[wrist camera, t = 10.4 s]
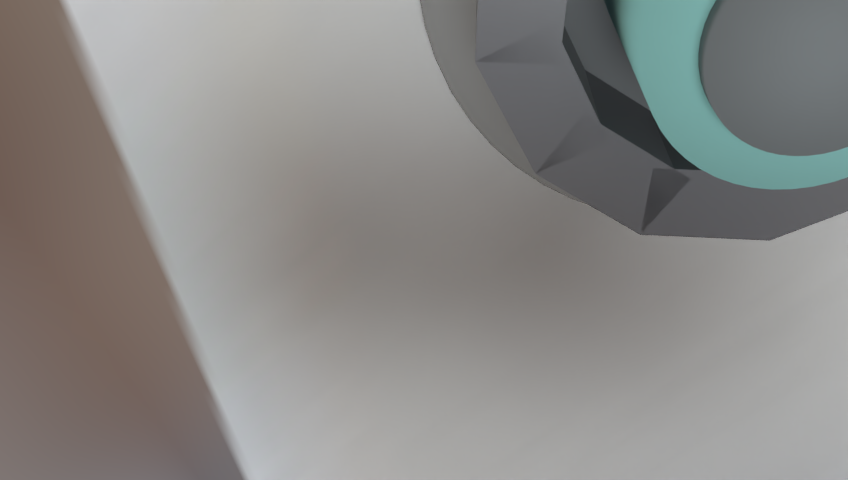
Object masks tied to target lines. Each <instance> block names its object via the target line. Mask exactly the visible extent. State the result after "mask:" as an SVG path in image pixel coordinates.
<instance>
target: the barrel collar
mask: <svg viewBox="0 0 848 480" xmlns="http://www.w3.org/2000/svg"><path fill="white" fill-rule="evenodd" d="M420 1H421V6H422V12H423V17H424V23H425V27H426V30H427V33H428V36H429V39H430V43H431V46H432V49H433V52H434V55H435V58H436V61H437V63H438V65H439V67H440V69H441V71H442V73H443V75H444V78H445V80H446V82H447V84H448V86H449V88H450V90H451V92H452V94H453V95H454V97H455V98H456V100H457V101H458V103H459V104H460V106H461V107H462V109H463V110H464V112H465V113H466V115H467V116H468V118H469V119H470V121H471V122H472V123H473V124H474V125H475V126H476V128H477V129H478V130H479V131H480V132H481V133H482V135H483V136H484V137H485V138H486V139H487V140H488V141H489V143H490V144H491V145H492V146H493V147H494V148H496V149H497V150H498V151H499V152H500V153H501V154H502V155H504V156H505V157H506V158H507V159H508V160H509V161H510V162H512V163H513V164H514V165H515V166H516V167H518V168H519V169H521V170H522V171H524V172H525V173H527V174H528V175H530V176H531V177H533V178H534V179H536V180H537V181H539V182H540V183H542V184H543V185H545V186H547V187H549V188H551V189H553V190H555V191H557V192H559V193H561V194H563V195H565V196H568V197H570V198H572V199H574V200H577V201H580V202H583V203H586V204H588V205H590V206H592V207H593V208H595V209H597V210H599V211H600V212H602V213H604V214H606V215H607V216H609V217H611V218H612V219H614V220H616V221H618V222H619V223H621V224H623V225H624V226H626V227H628V228H630V229H631V230H633V231H635V232H637V233H638V234H640V235H661V236H683V237H705V238H727V239H749V240H772V239H775V238H777V237H780V236H783V235H785V234H788V233H791V232H793V231H796V230H799V229H801V228H804V227H806V226H809V225H812V224H814V223H817V222H820V221H822V220H825V219H828V218H830V217H833V216H836V215H838V214H841V213H844V212H846V211H848V177H847V178H844V179H841V180H838V181H835V182H831V183H827V184H822V185H818V186H814V187H806V188H798V189H775V190H771V189H761V188H751V187H747V186H742V185H738V184H733V183H731V182H728V181H725V180H722V179H719V178H717V177H714V176H712V175H711V174H709V173H707V172H705V171H703V170H701V169H699V168H698V167H696V166H695V165H694V164H692V163H691V162H689V161H688V160H687V159H685V158H684V157H683V156H682V155H681V154H680V153H679V152H678V151H677V150H676V149H675V148H674V147H673V146H672V145H671V144H670V142H669V141H668V140H667V138H666V137H665V136H664V135H663V133H662V132H661V130H660V128H659V127H658V125H657V123H656V121H655V119H654V117H653V115H652V113H651V111H650V108H649V106H648V104H647V101H646V99H645V97H644V94H643V92H642V90H641V87H640V85H639V83H638V80H637V78H636V76H635V73H634V71H633V69H632V66H631V64H630V62H629V59H628V57H627V55H626V52H625V50H624V48H623V45H622V43H621V41H620V38H619V36H618V34H617V31H616V29H615V27H614V24H613V22H612V20H611V17H610V15H609V13H608V10H607V7H606V4H605V2H604V0H420Z"/></svg>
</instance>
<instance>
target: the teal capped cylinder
mask: <svg viewBox="0 0 848 480" xmlns="http://www.w3.org/2000/svg"><path fill="white" fill-rule="evenodd" d="M604 2H605V4H606V7H607V10H608V13H609V15H610V17H611V20H612V22H613V24H614V27H615V29H616V31H617V34H618V36H619V38H620V41H621V43H622V45H623V48H624V50H625V52H626V55H627V57H628V59H629V62H630V64H631V66H632V69H633V71H634V73H635V76H636V78H637V80H638V83H639V85H640V87H641V90H642V92H643V94H644V97H645V99H646V101H647V104H648V106H649V108H650V111H651V113H652V115H653V117H654V119H655V121H656V123H657V125H658V127H659V128H660V130H661V132H662V133H663V135H664V136H665V137H666V138H667V140H668V141H669V142H670V144H671V145H672V146H673V147H674V148H675V149H676V150H677V151H678V152H679V153H680V154H681V155H682V156H683V157H684V158H685V159H687V160H688V161H689V162H691V163H692V164H694V165H695V166H696V167H698V168H699V169H701V170H703V171H705V172H707V173H709V174H711V175H712V176H714V177H717V178H719V179H722V180H725V181H728V182H731V183H733V184H738V185H742V186H747V187H751V188H761V189H771V190H775V189H798V188H806V187H814V186H818V185H822V184H827V183H831V182H835V181H838V180H841V179H844V178H847V177H848V0H604Z"/></svg>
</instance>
